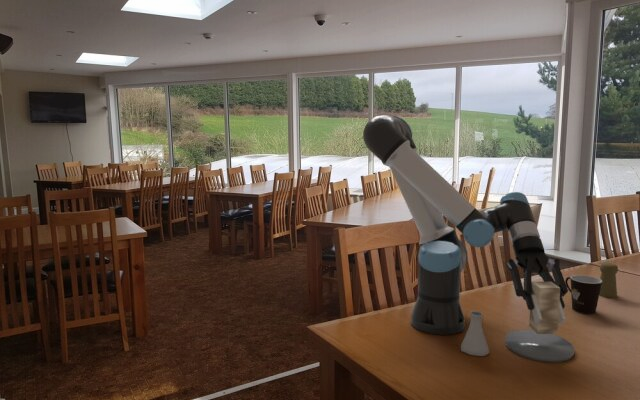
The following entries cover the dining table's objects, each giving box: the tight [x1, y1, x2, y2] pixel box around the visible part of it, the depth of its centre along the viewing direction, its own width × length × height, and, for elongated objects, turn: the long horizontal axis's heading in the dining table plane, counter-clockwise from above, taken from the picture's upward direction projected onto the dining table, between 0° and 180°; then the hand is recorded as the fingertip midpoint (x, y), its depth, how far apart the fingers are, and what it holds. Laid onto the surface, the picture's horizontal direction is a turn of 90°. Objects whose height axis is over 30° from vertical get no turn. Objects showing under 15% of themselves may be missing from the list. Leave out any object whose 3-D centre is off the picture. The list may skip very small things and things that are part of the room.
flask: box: [460, 310, 490, 357], centre depth 118 cm, size 7×7×10 cm
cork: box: [599, 262, 619, 299], centre depth 158 cm, size 6×6×11 cm
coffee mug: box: [564, 274, 602, 315], centre depth 146 cm, size 12×9×10 cm
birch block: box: [528, 281, 560, 335], centre depth 118 cm, size 5×5×12 cm
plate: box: [504, 329, 575, 363], centre depth 120 cm, size 16×16×1 cm
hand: (550, 321), depth 115 cm, fingers closed on birch block, 5 cm apart
